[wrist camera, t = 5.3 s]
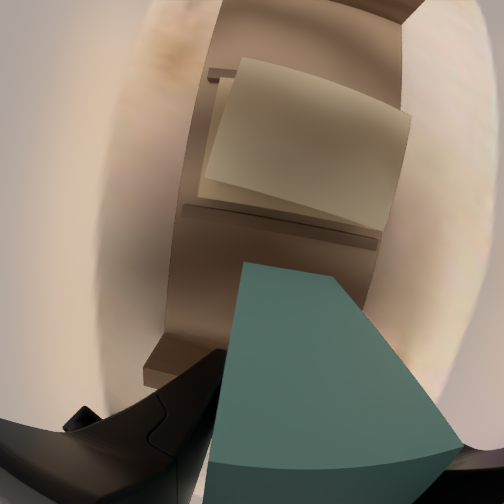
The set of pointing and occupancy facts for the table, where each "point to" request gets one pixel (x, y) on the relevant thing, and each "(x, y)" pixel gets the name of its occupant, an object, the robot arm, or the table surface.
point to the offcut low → (240, 194)
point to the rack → (258, 218)
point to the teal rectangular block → (318, 403)
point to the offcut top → (310, 143)
